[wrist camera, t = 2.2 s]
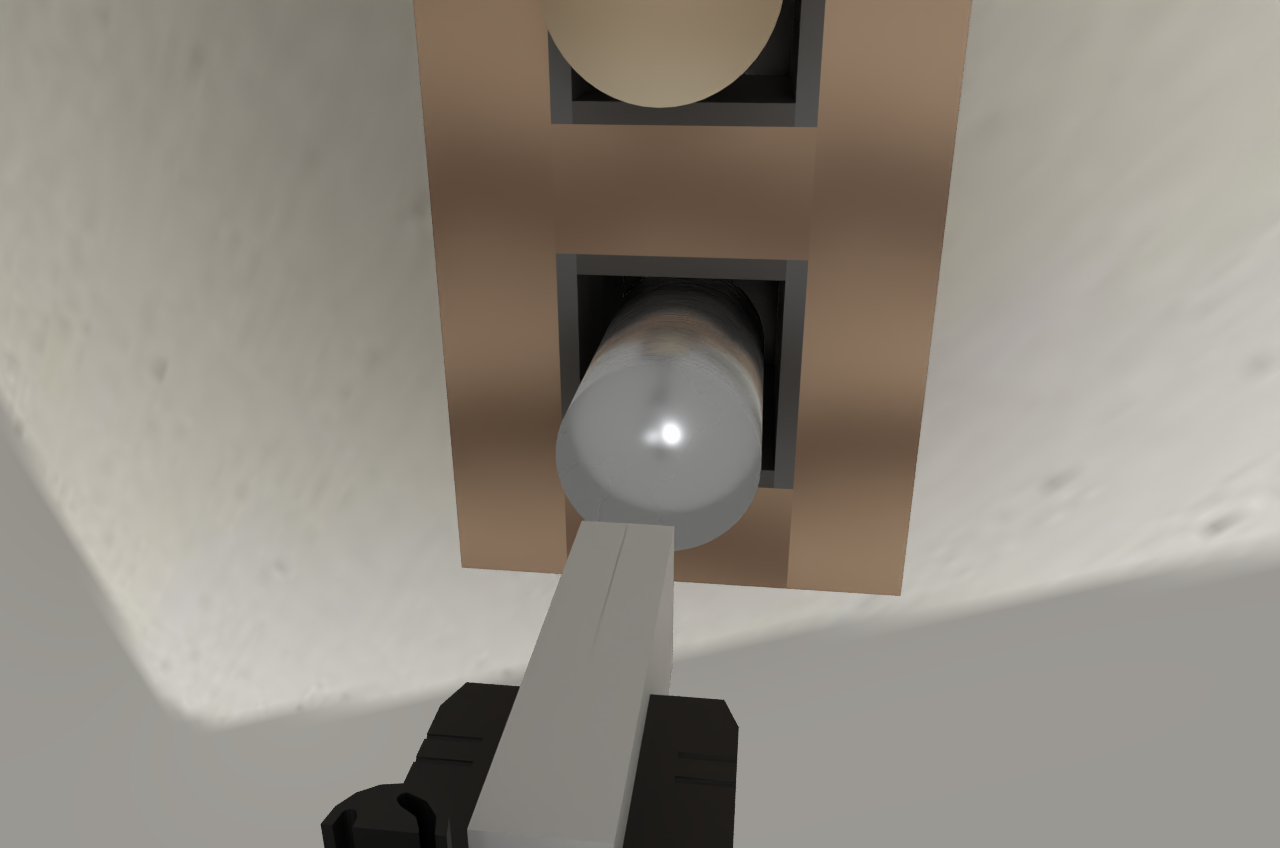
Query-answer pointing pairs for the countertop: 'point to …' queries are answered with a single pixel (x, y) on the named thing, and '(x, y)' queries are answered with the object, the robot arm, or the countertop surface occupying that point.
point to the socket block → (696, 268)
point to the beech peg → (660, 44)
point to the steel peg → (669, 412)
